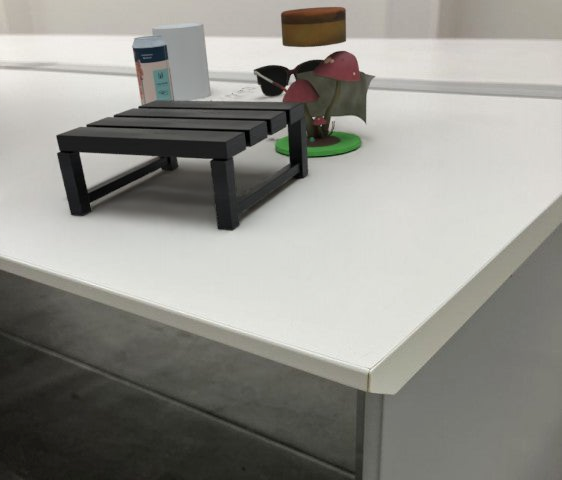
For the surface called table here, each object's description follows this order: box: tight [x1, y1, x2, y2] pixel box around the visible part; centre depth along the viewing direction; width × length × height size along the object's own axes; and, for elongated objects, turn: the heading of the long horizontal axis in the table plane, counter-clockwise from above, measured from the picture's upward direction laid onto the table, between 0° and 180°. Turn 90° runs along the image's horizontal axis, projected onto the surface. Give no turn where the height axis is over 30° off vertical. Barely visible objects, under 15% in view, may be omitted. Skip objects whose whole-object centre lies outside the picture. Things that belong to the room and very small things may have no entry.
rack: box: [55, 100, 309, 231], centre depth 69 cm, size 18×18×8 cm
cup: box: [151, 22, 213, 101], centre depth 111 cm, size 8×8×12 cm
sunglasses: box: [253, 59, 325, 98], centre depth 110 cm, size 14×16×5 cm
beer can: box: [131, 35, 174, 105], centre depth 97 cm, size 5×5×12 cm
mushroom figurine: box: [274, 6, 376, 157], centre depth 80 cm, size 12×13×15 cm
